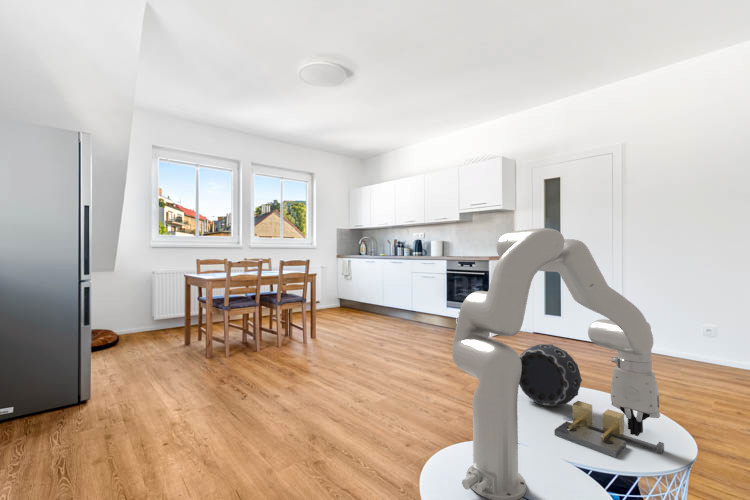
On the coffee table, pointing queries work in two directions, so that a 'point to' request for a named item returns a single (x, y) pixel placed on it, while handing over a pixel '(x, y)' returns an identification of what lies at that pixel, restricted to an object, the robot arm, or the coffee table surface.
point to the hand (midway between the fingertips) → (635, 433)
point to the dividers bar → (585, 419)
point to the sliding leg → (612, 423)
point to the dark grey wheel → (549, 375)
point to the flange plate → (591, 439)
